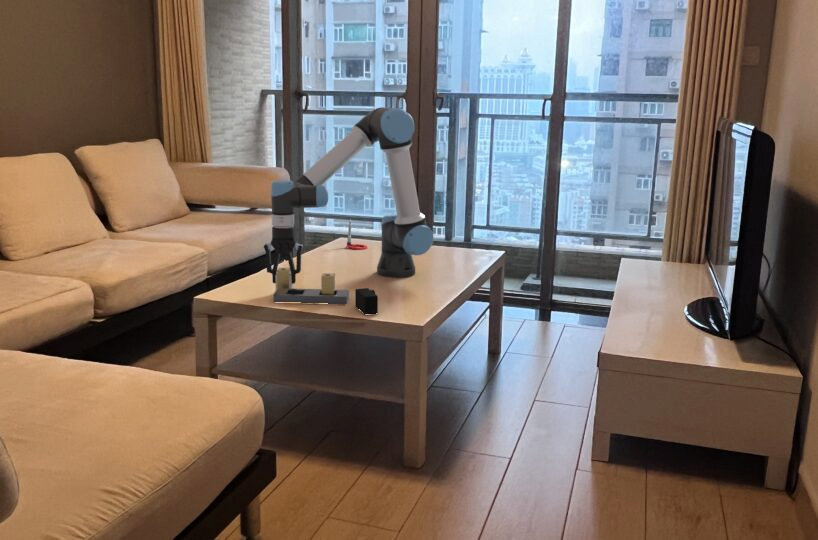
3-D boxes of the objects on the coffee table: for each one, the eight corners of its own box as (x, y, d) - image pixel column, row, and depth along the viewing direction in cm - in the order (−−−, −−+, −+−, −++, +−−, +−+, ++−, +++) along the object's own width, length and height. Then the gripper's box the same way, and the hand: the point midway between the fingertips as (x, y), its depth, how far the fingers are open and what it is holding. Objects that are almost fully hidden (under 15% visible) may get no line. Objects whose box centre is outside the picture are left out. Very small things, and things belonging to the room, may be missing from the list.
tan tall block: (291, 292, 269) (290, 267, 267) (289, 295, 265) (288, 270, 263) (279, 292, 269) (279, 267, 267) (277, 295, 265) (277, 269, 263)
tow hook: (368, 247, 351) (348, 245, 351) (370, 219, 347) (350, 218, 348) (365, 251, 342) (345, 249, 343) (367, 223, 339) (346, 221, 340)
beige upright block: (334, 299, 259) (334, 273, 257) (333, 302, 255) (333, 276, 253) (323, 299, 259) (322, 273, 257) (321, 302, 255) (321, 275, 253)
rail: (348, 299, 262) (348, 289, 261) (346, 307, 253) (346, 296, 252) (278, 298, 262) (278, 288, 261) (273, 305, 253) (273, 295, 252)
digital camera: (381, 316, 243) (381, 295, 242) (365, 318, 242) (365, 296, 240) (371, 307, 253) (371, 287, 251) (355, 309, 251) (355, 288, 249)
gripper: (255, 227, 258) (257, 294, 263) (306, 228, 258) (307, 295, 263) (260, 223, 265) (262, 289, 271) (309, 224, 265) (310, 290, 271)
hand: (284, 292), depth 267 cm, fingers closed on tan tall block, 4 cm apart
